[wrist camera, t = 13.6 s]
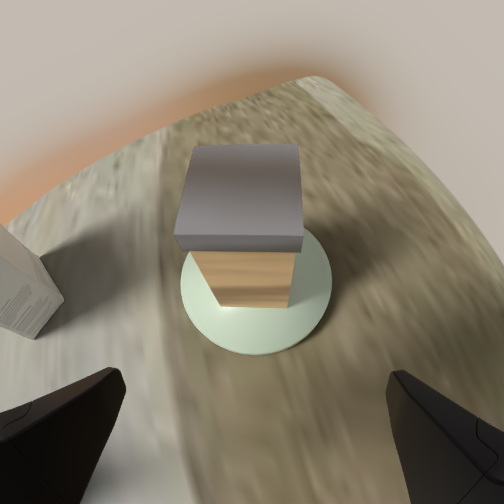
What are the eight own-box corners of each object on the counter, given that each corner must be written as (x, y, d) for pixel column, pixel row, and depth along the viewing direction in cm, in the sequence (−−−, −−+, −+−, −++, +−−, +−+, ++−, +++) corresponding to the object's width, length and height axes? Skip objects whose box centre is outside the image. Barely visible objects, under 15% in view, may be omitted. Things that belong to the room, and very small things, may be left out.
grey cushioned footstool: (289, 311, 21) (303, 235, 12) (217, 308, 22) (173, 234, 12) (289, 246, 24) (298, 144, 14) (223, 245, 24) (194, 146, 15)
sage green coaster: (220, 381, 21) (217, 380, 19) (167, 256, 26) (162, 248, 25) (355, 310, 22) (360, 305, 21) (284, 203, 28) (284, 193, 26)
